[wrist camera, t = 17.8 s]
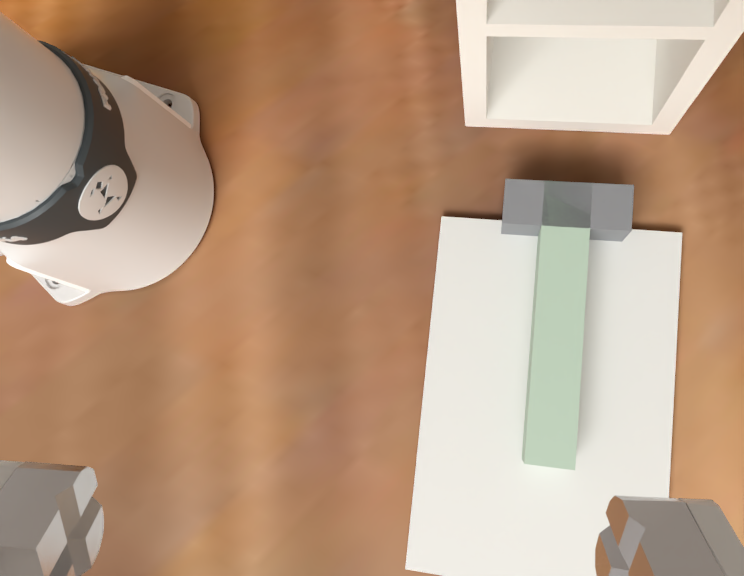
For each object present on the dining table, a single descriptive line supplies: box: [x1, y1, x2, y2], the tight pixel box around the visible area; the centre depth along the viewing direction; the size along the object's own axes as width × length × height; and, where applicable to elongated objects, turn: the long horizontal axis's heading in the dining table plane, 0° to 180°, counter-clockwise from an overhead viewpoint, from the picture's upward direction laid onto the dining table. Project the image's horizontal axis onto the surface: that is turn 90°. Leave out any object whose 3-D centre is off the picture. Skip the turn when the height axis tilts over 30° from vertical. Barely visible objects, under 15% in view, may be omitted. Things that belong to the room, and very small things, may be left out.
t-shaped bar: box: [501, 179, 634, 470], centre depth 42 cm, size 18×8×3 cm, turn 174°
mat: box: [405, 216, 682, 576], centre depth 43 cm, size 24×16×1 cm, turn 174°
